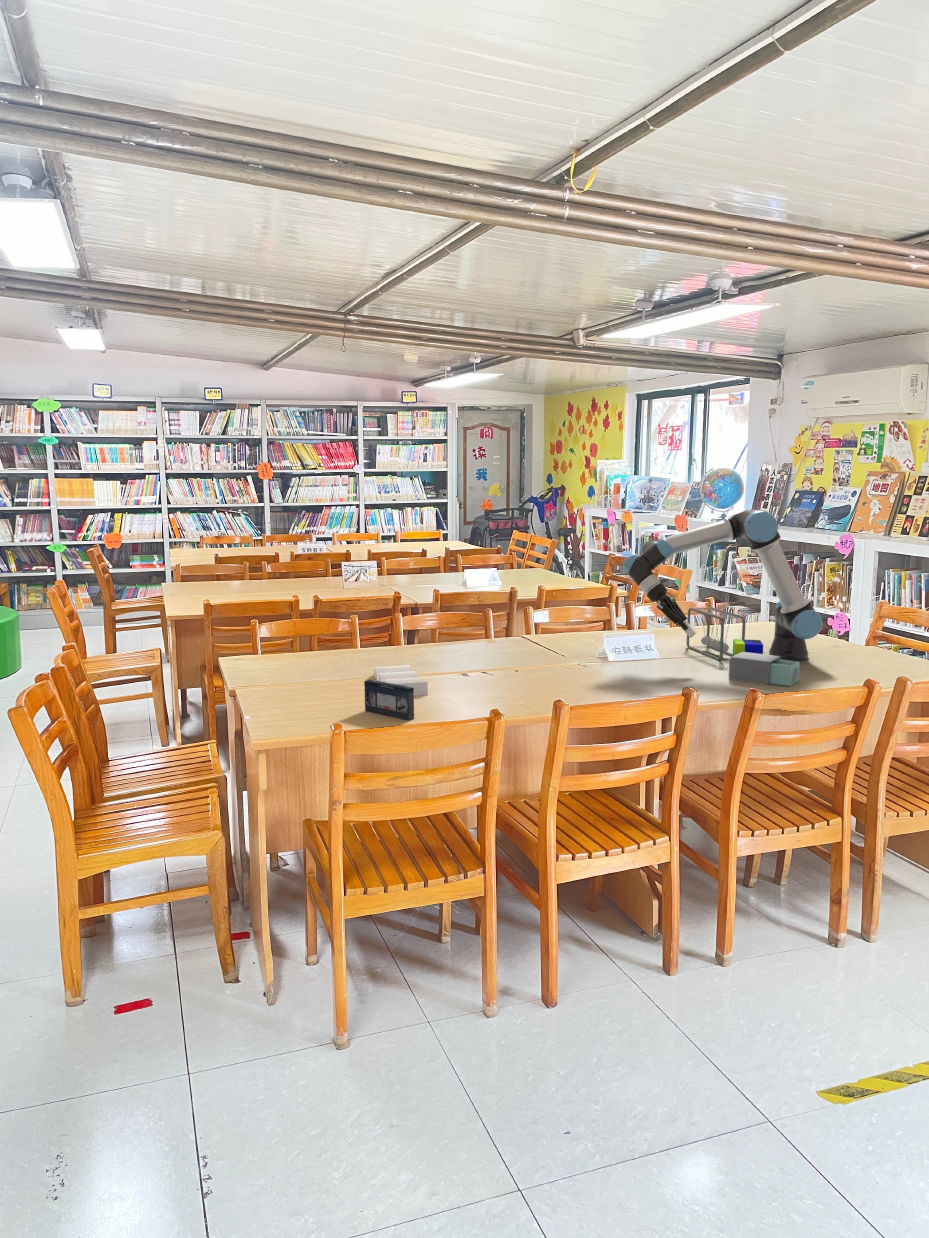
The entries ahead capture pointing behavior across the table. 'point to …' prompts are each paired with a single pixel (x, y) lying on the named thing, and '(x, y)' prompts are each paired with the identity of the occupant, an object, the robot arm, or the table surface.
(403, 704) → the vhs cassette tape
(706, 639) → the newton's cradle
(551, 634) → the table surface
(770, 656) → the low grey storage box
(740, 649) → the puzzle toy
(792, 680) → the sliding matchbox
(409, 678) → the file organizer
